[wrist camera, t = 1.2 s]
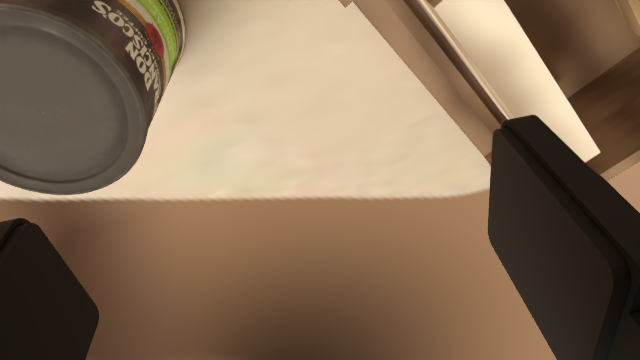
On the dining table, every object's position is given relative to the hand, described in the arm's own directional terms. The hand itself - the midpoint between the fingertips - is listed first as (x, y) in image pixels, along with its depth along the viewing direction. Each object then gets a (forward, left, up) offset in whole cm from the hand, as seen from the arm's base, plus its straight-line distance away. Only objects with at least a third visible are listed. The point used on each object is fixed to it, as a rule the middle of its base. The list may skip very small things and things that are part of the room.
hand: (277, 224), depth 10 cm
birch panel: (-8, +14, -27) cm, 32 cm away
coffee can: (+11, -5, -29) cm, 31 cm away
